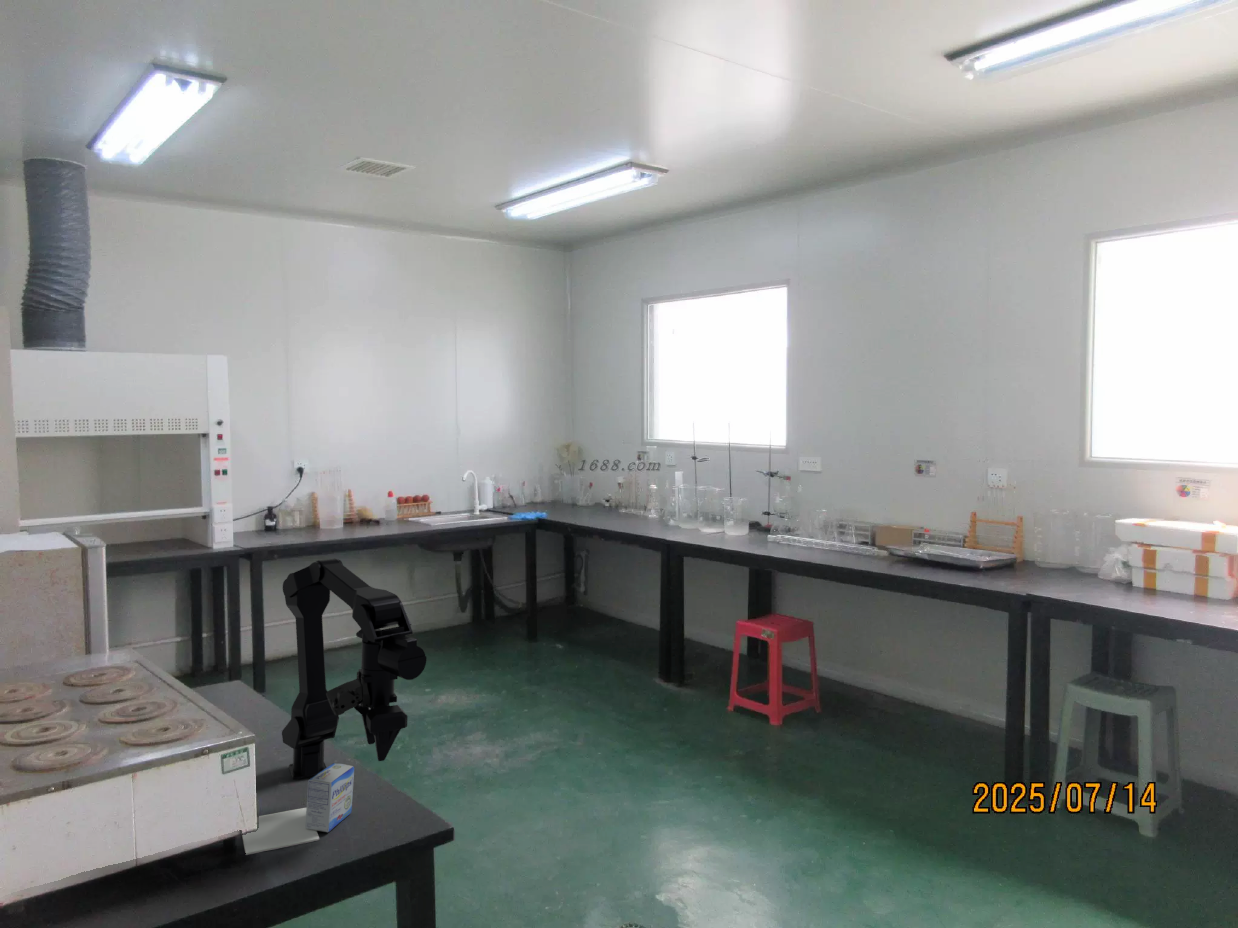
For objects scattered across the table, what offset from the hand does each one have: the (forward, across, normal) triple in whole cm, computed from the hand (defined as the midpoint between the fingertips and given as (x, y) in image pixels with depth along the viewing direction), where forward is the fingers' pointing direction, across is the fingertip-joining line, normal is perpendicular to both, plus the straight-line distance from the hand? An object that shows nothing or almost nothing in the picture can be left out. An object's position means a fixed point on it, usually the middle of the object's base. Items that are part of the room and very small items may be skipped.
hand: (376, 751), depth 148 cm
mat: (+11, 0, -16) cm, 19 cm away
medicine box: (+11, 0, -8) cm, 14 cm away
